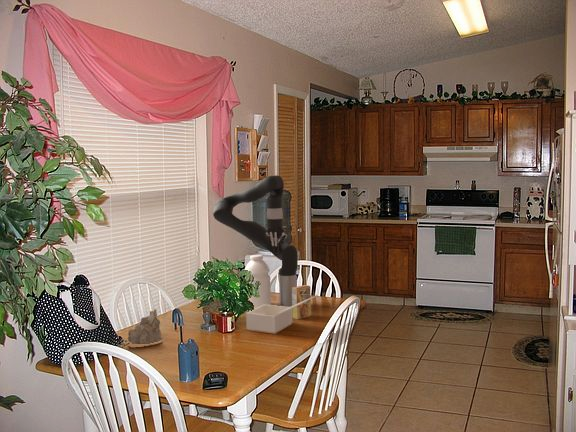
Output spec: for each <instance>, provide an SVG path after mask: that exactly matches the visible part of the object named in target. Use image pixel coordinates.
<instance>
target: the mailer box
mask: <svg viewBox="0 0 576 432" xmlns="http://www.w3.org/2000/svg"><path fill="white" fill-rule="evenodd" d="M287 308H289V307H285V306H280V305H275V304H274V305H273V304H271V305H266V304H264V305H262V306H260V307H258V308H256V309H254V310H252V311H251V310H248V311H247V312H245V316H246V317H245V321H246V325H245V326H246V331H252V332H260V333H265V334H266V333H268V334H273V335H276V334H277V333H280V331H283V330H284V329H286V328H288V327H290V326H291V325H293V321H294V320H293V312H292V309H290V310H287V311H285V312H283V313H281V314H279V315H276V314H278V313H280V312H282V311H283V310H285V309H287ZM275 315H276V316H275Z"/></svg>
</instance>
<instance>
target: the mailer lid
mask: <svg viewBox="0 0 576 432" xmlns="http://www.w3.org/2000/svg"><path fill="white" fill-rule="evenodd" d="M317 297H318V294H315V295H313V296H311V298H309V299H307V300H304V301H302V302H300V303H298V304H296V305H293V306H291V307H289V308H287V309H285V310H283V311H282V312H280V313H278V314H276V315H279V314H281V313H283V312H285V311H287V310H290V309H292V308H294V307H296V306H299V305H301V304H303V303H305V302H307V301H309V300H312V299H314V298H317ZM276 315H275V316H276Z"/></svg>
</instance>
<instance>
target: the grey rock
mask: <svg viewBox="0 0 576 432" xmlns="http://www.w3.org/2000/svg"><path fill="white" fill-rule="evenodd" d="M157 310H158V309H156V308H155V309H153V310H150V311H149V315H148V316H144V317H141V320H140V322H139V323H136V325H135V327H134V329H129V330H128V333H127V335H128V337H127V340H128V343H129V342H131V343H132V344H150V343H154V342H158V341H160V340H162V339H163V340H164V337H163V336H162V332H161V330H160V324H161V321H160V320H159V319H158V317H157V316H158V313H157Z"/></svg>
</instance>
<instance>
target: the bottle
mask: <svg viewBox="0 0 576 432" xmlns="http://www.w3.org/2000/svg"><path fill="white" fill-rule="evenodd" d="M249 259H250V260H249V261H248V262H247V263H246V265H245V268H244V270H248V271H251V272H252V275H253V277H254V281H253V283H254V284H255V283H256V281H260V283H261V285H260V287H259V289H258V290H259V295H260V297H259V298H256V297H254V296H252V297H251V298H249V300H250V301H251V302H252V303H253V305H254V309H256V308H258V307H260V306H262V305H264V304H266V305H272V291H271V288H272V287H271V276H270V275H269V272H270V268H269V266H268V264H267V263H266V262H265V260H263V259H264V256H263V255H262V254H252V255H251V254H250V256H249Z"/></svg>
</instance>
